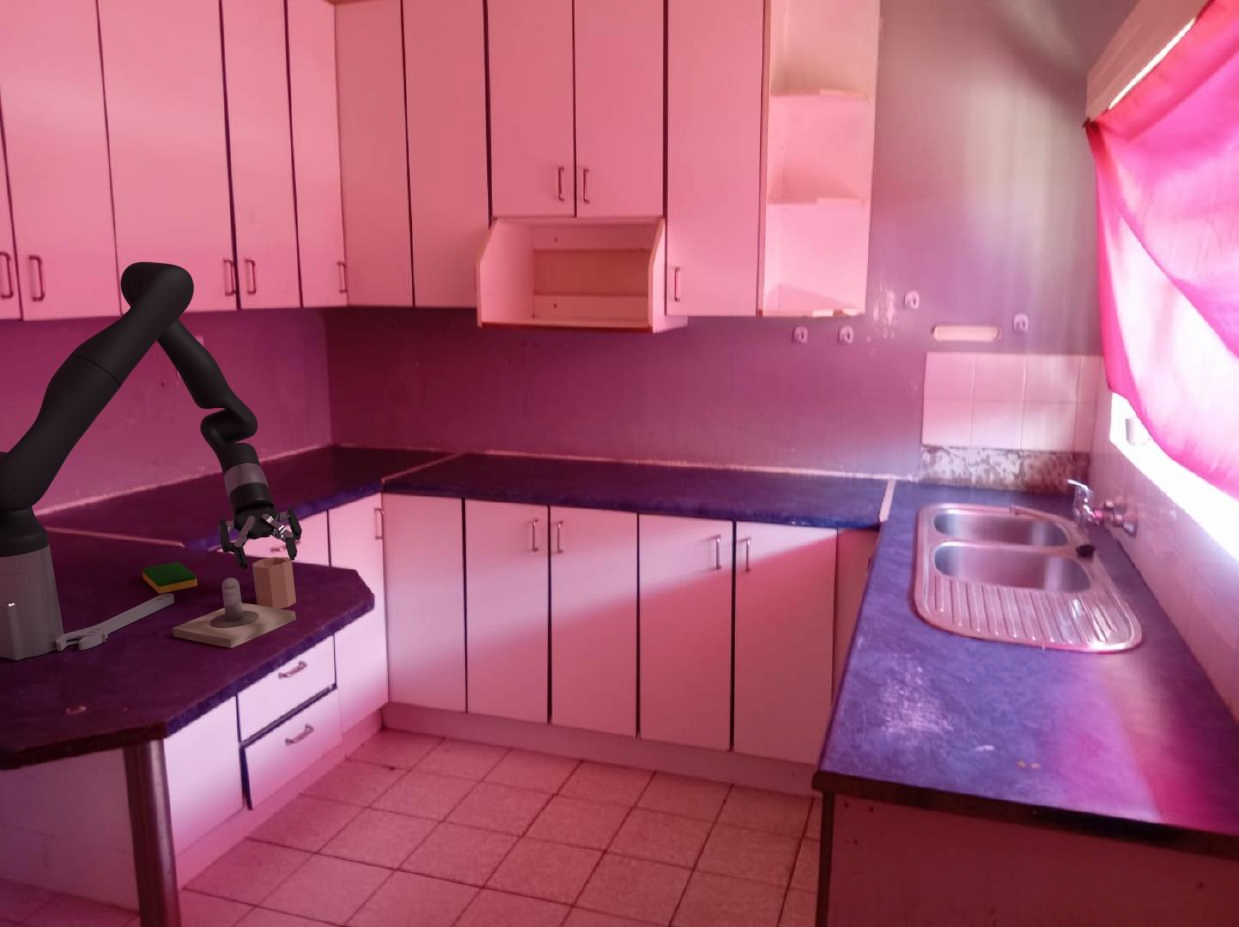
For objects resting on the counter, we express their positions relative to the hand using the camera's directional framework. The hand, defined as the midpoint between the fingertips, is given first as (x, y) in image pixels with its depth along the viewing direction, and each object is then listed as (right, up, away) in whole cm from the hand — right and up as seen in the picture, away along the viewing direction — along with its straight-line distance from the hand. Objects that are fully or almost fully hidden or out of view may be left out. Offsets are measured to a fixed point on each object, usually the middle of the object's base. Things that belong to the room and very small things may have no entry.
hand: (269, 562), depth 178 cm
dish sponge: (-26, -6, +16) cm, 31 cm away
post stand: (-1, -10, -12) cm, 16 cm away
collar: (+1, -7, 0) cm, 8 cm away
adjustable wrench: (-22, -10, -9) cm, 26 cm away
